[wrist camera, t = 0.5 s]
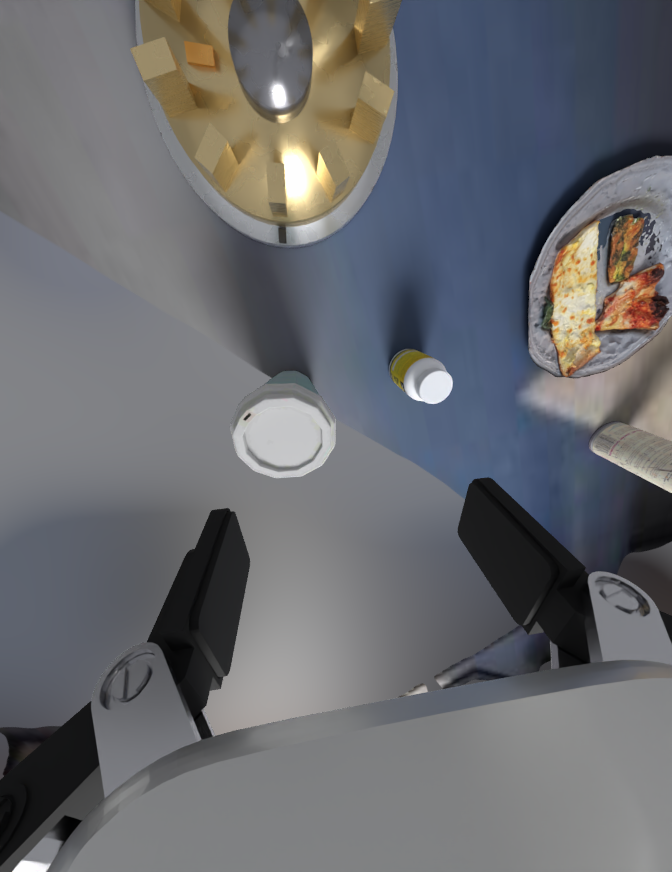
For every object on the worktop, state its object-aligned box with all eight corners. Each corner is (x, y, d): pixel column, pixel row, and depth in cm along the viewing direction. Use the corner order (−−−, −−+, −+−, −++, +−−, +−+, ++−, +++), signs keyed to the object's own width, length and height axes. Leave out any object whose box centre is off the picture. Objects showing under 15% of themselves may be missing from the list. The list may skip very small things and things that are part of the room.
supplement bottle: (380, 372, 38) (403, 394, 29) (404, 340, 36) (436, 353, 27) (407, 391, 40) (436, 417, 31) (430, 361, 38) (468, 379, 29)
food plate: (661, 342, 41) (691, 345, 38) (519, 396, 43) (535, 403, 40) (710, 131, 30) (757, 110, 27) (513, 215, 32) (536, 205, 28)
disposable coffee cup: (341, 391, 38) (362, 438, 25) (293, 439, 41) (290, 504, 28) (285, 339, 34) (276, 363, 21) (237, 396, 37) (201, 449, 24)
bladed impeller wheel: (397, -81, 19) (437, -236, 14) (370, 234, 28) (387, 218, 23) (119, -151, 17) (30, -375, 11) (185, 218, 26) (153, 195, 20)
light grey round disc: (132, -192, 17) (112, -253, 15) (424, -26, 22) (436, -58, 20) (159, 214, 27) (148, 207, 25) (358, 270, 31) (362, 269, 30)
